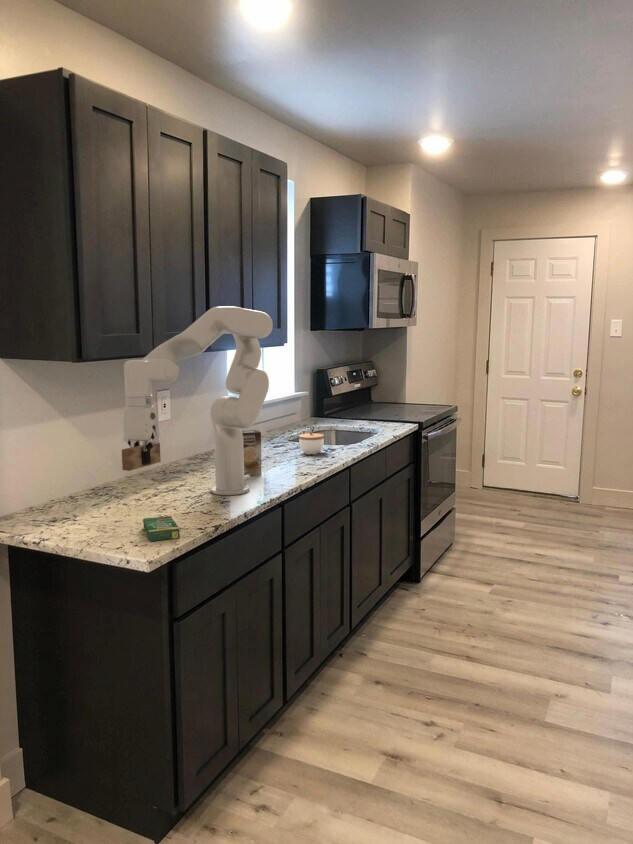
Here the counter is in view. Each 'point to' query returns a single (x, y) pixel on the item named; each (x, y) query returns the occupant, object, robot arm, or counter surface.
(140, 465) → the brown rectangular block
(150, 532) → the coffee box
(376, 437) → the counter surface
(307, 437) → the lidded jar
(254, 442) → the coffee box
